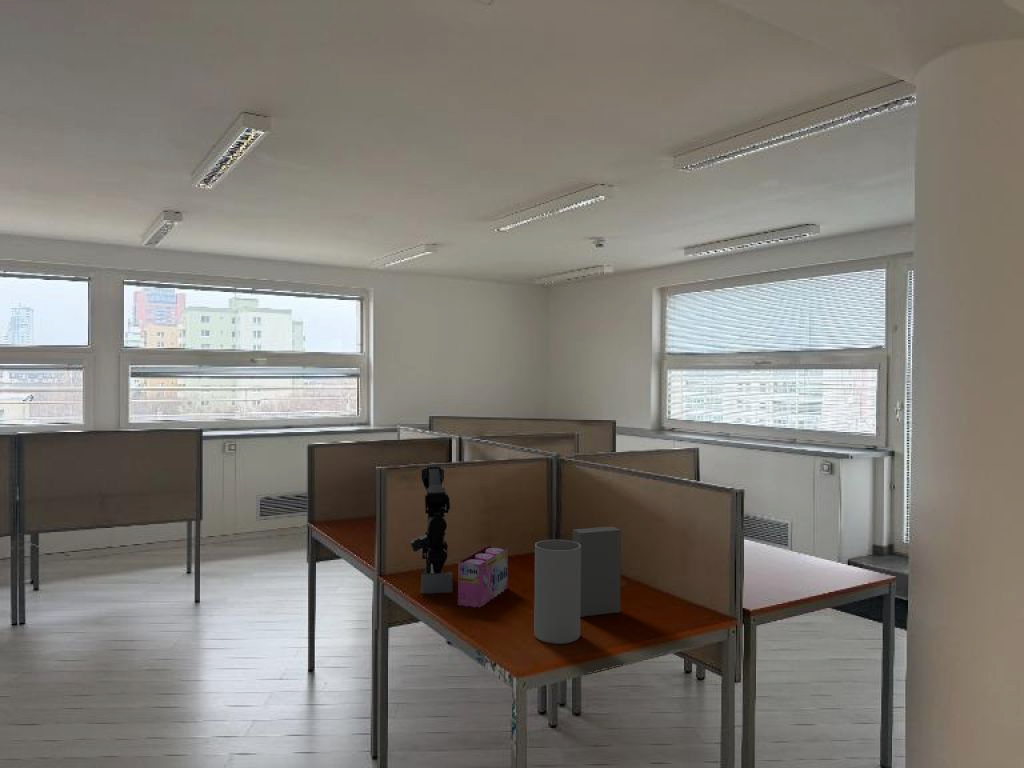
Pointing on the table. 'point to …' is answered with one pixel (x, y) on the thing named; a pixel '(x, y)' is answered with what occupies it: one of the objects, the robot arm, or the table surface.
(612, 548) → the upright grey panel
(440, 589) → the pusher
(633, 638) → the table surface
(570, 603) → the cylinder vase
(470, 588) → the gum box
